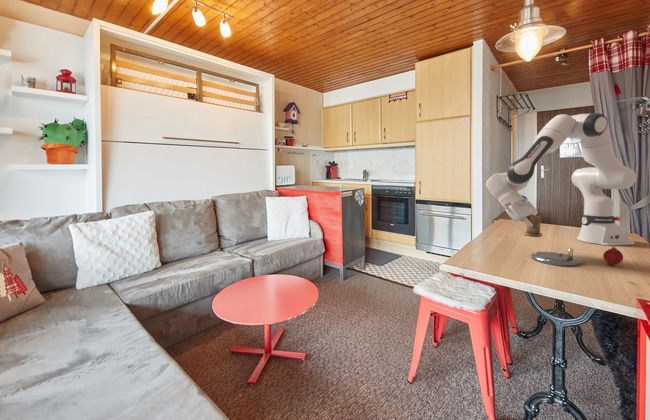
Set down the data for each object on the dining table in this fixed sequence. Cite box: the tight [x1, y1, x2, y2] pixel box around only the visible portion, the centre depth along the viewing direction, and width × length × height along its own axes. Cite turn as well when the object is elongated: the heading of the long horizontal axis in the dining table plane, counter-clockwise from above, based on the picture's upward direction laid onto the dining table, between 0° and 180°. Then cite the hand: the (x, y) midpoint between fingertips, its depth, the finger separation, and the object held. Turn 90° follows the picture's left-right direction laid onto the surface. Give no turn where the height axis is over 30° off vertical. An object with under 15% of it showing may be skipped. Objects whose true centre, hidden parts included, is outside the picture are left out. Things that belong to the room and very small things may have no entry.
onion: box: [602, 245, 624, 267], centre depth 121 cm, size 6×6×8 cm
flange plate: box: [530, 247, 581, 267], centre depth 130 cm, size 17×17×6 cm
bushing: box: [523, 214, 543, 238], centre depth 135 cm, size 7×7×9 cm
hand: (535, 225), depth 135 cm, fingers closed on bushing, 5 cm apart
